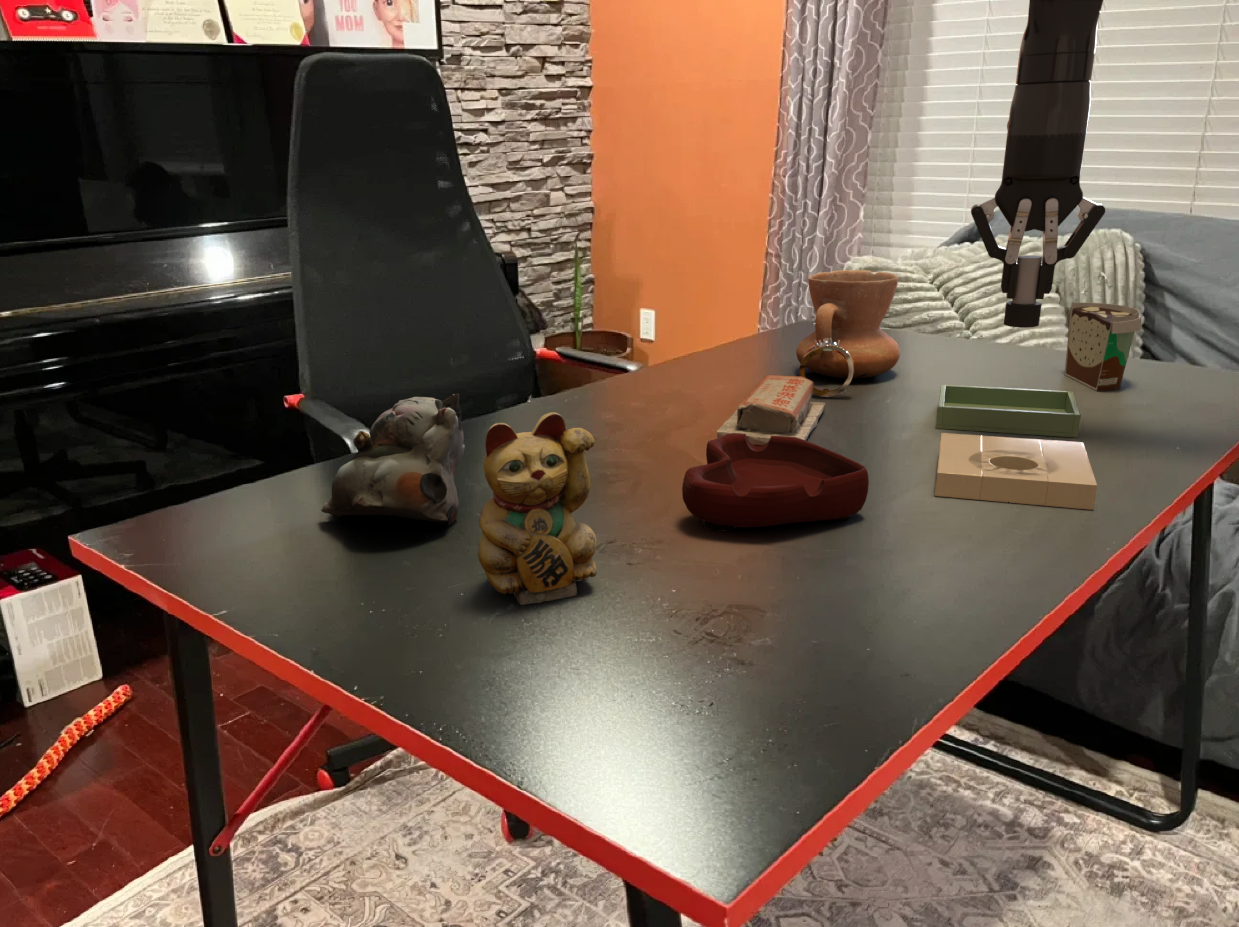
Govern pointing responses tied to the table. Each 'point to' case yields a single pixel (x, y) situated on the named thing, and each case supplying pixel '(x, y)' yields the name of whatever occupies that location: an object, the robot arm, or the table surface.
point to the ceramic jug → (851, 322)
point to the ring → (828, 346)
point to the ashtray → (772, 483)
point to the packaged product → (776, 410)
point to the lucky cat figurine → (404, 464)
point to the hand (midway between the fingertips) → (1024, 297)
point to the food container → (1099, 343)
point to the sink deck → (1015, 471)
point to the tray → (1008, 410)
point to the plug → (1025, 294)
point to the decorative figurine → (536, 511)
